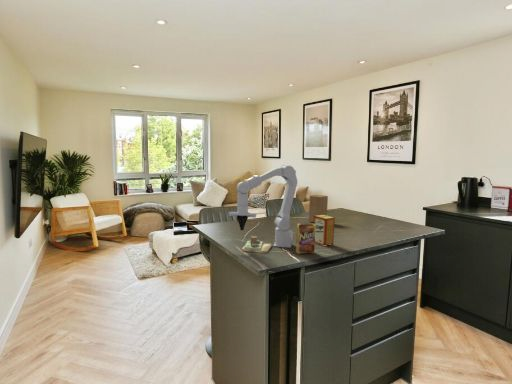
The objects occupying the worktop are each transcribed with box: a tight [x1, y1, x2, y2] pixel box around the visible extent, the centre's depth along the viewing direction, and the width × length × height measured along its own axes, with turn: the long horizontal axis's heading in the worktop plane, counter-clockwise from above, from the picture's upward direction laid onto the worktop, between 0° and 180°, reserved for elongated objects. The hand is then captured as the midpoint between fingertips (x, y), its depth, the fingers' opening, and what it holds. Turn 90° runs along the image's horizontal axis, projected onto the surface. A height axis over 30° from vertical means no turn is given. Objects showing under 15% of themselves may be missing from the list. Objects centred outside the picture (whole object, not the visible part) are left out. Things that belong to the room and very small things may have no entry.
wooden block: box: [308, 194, 329, 223], centre depth 244 cm, size 10×10×20 cm
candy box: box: [295, 222, 316, 255], centre depth 166 cm, size 9×4×15 cm, turn 93°
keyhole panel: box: [243, 235, 264, 250], centre depth 174 cm, size 8×13×5 cm, turn 174°
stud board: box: [240, 239, 273, 254], centre depth 173 cm, size 13×13×3 cm
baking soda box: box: [314, 214, 335, 246], centre depth 185 cm, size 10×6×16 cm
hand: (242, 229), depth 174 cm, fingers closed
